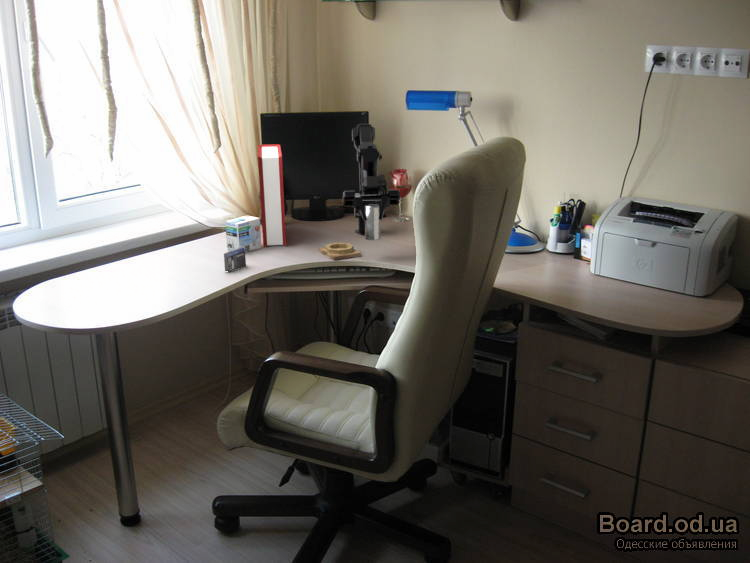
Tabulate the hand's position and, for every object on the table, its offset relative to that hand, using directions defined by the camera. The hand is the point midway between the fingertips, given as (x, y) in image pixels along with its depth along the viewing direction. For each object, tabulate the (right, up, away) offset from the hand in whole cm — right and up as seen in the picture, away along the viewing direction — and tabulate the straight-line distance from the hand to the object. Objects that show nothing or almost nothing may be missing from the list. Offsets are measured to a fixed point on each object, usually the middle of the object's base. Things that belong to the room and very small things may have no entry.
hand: (372, 219), depth 240 cm
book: (-36, -4, +32) cm, 49 cm away
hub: (-11, -11, +10) cm, 19 cm away
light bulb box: (-45, -9, +17) cm, 49 cm away
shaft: (0, -6, +3) cm, 7 cm away
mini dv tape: (-44, -16, -4) cm, 47 cm away
